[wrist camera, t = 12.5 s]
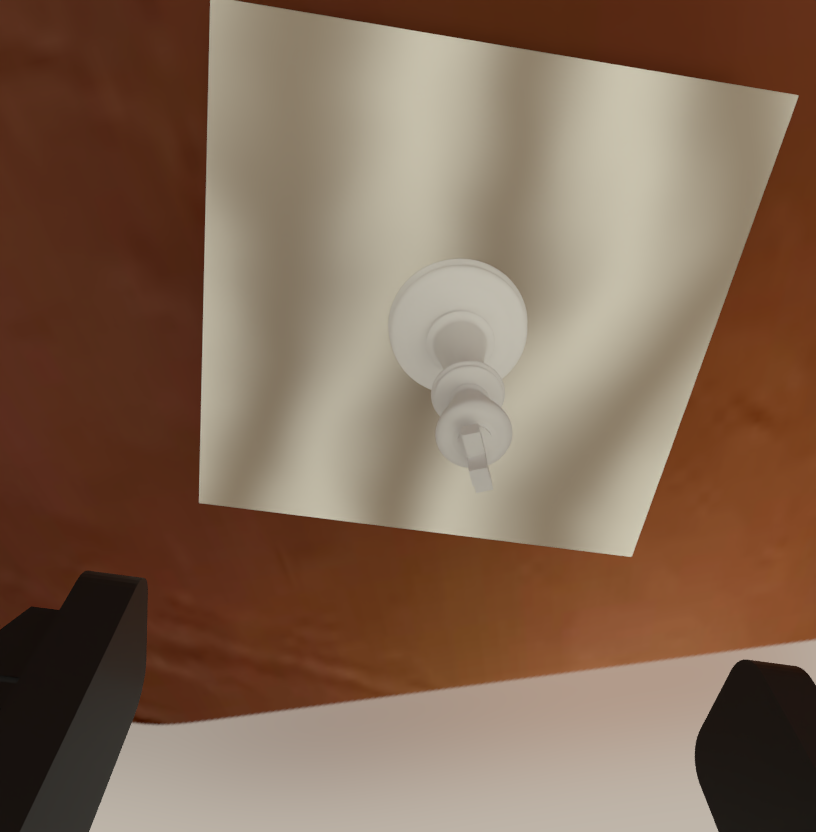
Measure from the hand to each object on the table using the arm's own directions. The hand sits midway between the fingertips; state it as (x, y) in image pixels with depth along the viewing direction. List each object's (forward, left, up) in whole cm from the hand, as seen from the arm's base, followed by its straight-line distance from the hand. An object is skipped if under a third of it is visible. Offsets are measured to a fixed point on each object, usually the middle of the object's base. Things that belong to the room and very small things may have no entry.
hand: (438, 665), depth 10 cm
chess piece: (+2, -2, -18) cm, 18 cm away
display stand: (+2, -2, -23) cm, 23 cm away
